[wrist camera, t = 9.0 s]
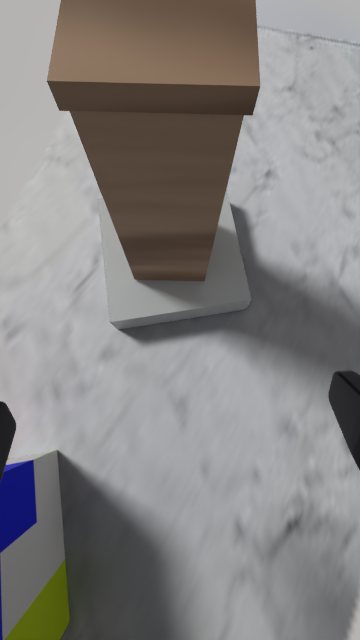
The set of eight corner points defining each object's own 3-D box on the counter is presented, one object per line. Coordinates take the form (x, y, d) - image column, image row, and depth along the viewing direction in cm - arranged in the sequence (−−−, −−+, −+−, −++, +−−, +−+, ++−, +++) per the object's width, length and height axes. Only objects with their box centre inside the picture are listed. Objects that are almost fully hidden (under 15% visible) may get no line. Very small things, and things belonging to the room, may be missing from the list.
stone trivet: (243, 311, 23) (251, 299, 20) (119, 331, 23) (109, 322, 20) (220, 204, 26) (224, 179, 23) (107, 221, 26) (97, 199, 23)
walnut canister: (207, 284, 21) (260, 86, 7) (131, 282, 21) (46, 80, 7) (207, 217, 22) (252, -55, 9) (136, 215, 22) (71, -59, 9)
